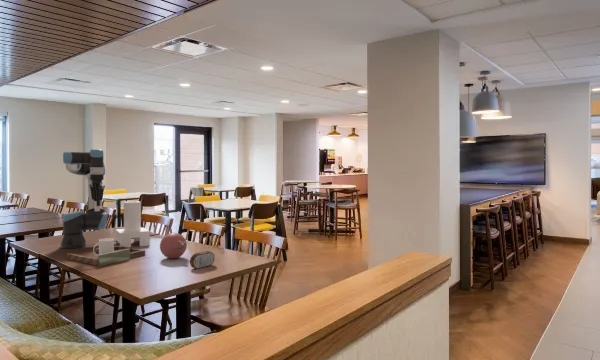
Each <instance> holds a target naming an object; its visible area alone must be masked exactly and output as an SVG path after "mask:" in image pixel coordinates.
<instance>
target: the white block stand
mask: <svg viewBox="0 0 600 360" xmlns="http://www.w3.org/2000/svg"><path fill="white" fill-rule="evenodd" d="M141 207H142V204H141V201H140V200H139V201H137V200H130V201H123V228H120V229H119V228H118V229H117V228H116V229H115V244H119V246H124V247H130V248H132V239H133V242H139V247H147V246H150V244H151V242H150V240H151V237H150V234H151V232H150V230H149V229H147V228H145V227H142V226H141V225H142V224H141V223H142V220H141V219H142V214H141V213H142V212H141V211H142V208H141Z"/></svg>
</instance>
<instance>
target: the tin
mask: <svg viewBox="0 0 600 360" xmlns="http://www.w3.org/2000/svg"><path fill="white" fill-rule="evenodd" d="M214 262H215V254H214V253H213V252H212V251H210V250H206V251H200V252H195V253H194V254H192V256H191V257H190V259H189V264H190V265H189V266H190V267H192V268H193V269H198V268H199V269H201V268H202V267H203V268H207V267H206V266H208V267H210V266H212V265H213V263H214ZM203 268H202V269H203Z"/></svg>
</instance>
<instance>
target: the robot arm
mask: <svg viewBox="0 0 600 360" xmlns="http://www.w3.org/2000/svg"><path fill="white" fill-rule="evenodd" d="M62 160H63V161H62V162H63V164H65V168H66V170H67V171H68V172H69V173H70V174H73V175H77V176H85V179H87V192H88V193H87V196H88V197H87V198H88V200H87V201H88V209H87V210H86V211H85V213H84V212H83V211H71V212H68V213H65V214H64V215H63V217H62V218H63V219H62V223H63V225H62V227H63V230H62V233H63V236H62V239H61V242H60V248H61V249H68V250H69V249H79V248H84V247H86V246H87V242H86V241H87V240H86V239H85V236H84V231H94V230H96V231H97V230H98V231H99V230H104V229H106V226H107V219H108V212H106V210H105V209H104V208H103V197H104V191H105V188H106V186H105V185H103V180H104V178H105V175H106V168H105V167H106V166H105V163H104V150H103V149H90V150H89V151H88V152H87V151H86V152H85V151H84V152H83V151H81V152H80V151H64V152H63V153H62Z"/></svg>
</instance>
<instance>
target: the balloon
mask: <svg viewBox="0 0 600 360" xmlns="http://www.w3.org/2000/svg"><path fill="white" fill-rule="evenodd" d="M159 249H160V252H161V254H162V255H163V256H164V257H165V258H168V259H172V260H174V259H177V258H178V259H179V258H180V257H182V256H183V255H184V254H185V252H186V250H187V249H188V247H187V240H186V238H185V237H184V235H182V234H181V233H178V232H170V233H168V234H165V236H164V237H162V238H161V241H160V244H159Z"/></svg>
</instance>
